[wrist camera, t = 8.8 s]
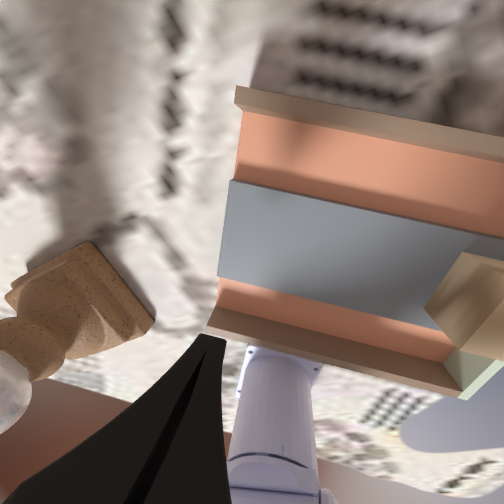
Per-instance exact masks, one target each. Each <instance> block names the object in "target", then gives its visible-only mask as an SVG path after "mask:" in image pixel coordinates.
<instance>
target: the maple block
mask: <svg viewBox="0 0 504 504" xmlns="http://www.w3.org/2000/svg"><path fill="white" fill-rule="evenodd" d="M424 310H425V311H426V312H427V313H428V314H429V316H430V317H431V318H432V319H433V320H434V321H435V323H436V324H437V325H438V326H439V327H440V329H441V330H442V331H443V332H444V333H445V334H446V336H447V337H448V338H449V339H450V340H451V342H452V343H453V344H454V345H455V346H456V347H457V349H458V350H459V351H463V352H467V353H471V354H475V355H479V356H483V357H487V358H491V359H495V360H499V361H503V362H504V261H501V260H497V259H492V258H488V257H484V256H479V255H475V254H470V253H466V252H462V253H461V254H460V256H459V257H458V259H457V260H456V262H455V263H454V264H453V266H452V267H451V269H450V270H449V272H448V273H447V275H446V276H445V278H444V279H443V280H442V282H441V283H440V285H439V286H438V288H437V289H436V291H435V292H434V293H433V295H432V296H431V298H430V299H429V301H428V302H427V304H426V305H425V307H424Z"/></svg>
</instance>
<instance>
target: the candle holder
mask: <svg viewBox="0 0 504 504" xmlns="http://www.w3.org/2000/svg"><path fill="white" fill-rule="evenodd" d="M11 287H12V288H13V289H12V290H11V291H10V292H8V293H7V294H6V295H5V297H4V298H5V300H6V301H7V303H8V304H9V305H10V306H11V307H12V308H13V309H14V310H15V311H16V312H17V317H9V318H4V319H2V320H0V434H1V433H3V432H4V431H6V430H7V429H8V428H10V427H11V426H12V425H13V424H14V423H16V421H17V420H18V419H19V418H20V417H21V416H22V415H23V413H24V412H25V410H26V409H27V407H28V405H29V402H30V399H31V394H32V387H31V382H32V381H36V380H40V379H44V378H47V377H49V376H51V375H52V374H54V373H55V372H56V371H57V370H59V369H60V367H61V366H62V364H63V363H64V359H65V358H67V359H70V360H71V359H77V358H81V357H85V356H88V355H92V354H95V353H99V352H102V351H105V350H107V349H110V348H113V347H116V346H118V345H120V344H122V343H124V342H127V341H130V340H133V339H136V338H138V337H141V336H143V335H145V334H146V333H147V331H148V330H149V329H150V328H151V326H152V325H153V324H154V323H155V322H154V320H153V318H152V317H151V315H150V314H149V313H148V311H147V310H146V309H145V307H144V306H143V305H142V304H141V302H140V301H139V300H138V298H137V297H136V296H135V295H134V293H133V292H132V291H131V290H130V288H129V287H128V286H127V285H126V283H125V282H124V281H123V279H122V278H121V277H120V276H119V274H118V273H117V272H116V271H115V269H114V268H113V267H112V266H111V264H110V263H109V262H108V260H107V259H106V258H105V257H104V255H103V254H102V253H101V252H100V251H99V250H98V249H97V247H96V246H95V245H94V244H93V243H92V242H90V241H88V242H85V243H83V244H81V245H79V246H76V247H74V248H72V249H70V250H68V251H66V252H64V253H62V254H60V255H58V256H56V257H55V258H53V259H51V260H49V261H47V262H46V263H44V264H42V265H40V266H39V267H37V268H35V269H33V270H32V271H30V272H28V273H26V274H24V275H23V276H21V277H19V278H18V279H16V280H15V281H14V282H12V283H11Z"/></svg>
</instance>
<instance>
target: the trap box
mask: <svg viewBox="0 0 504 504" xmlns="http://www.w3.org/2000/svg"><path fill="white" fill-rule="evenodd" d="M234 104H236V105H237V106H238V107H239V108H240V109H242V110H243V116H242V123H241V130H240V137H239V144H238V151H237V158H236V165H235V172H234V178H233V179H231V180H230V182H229V190H228V197H227V205H226V212H225V219H224V227H223V234H222V242H221V249H220V256H219V264H218V271H217V276H218V277H220V278H219V285H218V292H217V299H216V306H215V308H214V310H213V312H212V315H211V317H210V319H209V321H208V323H207V325H206V332H207V333H211V334H215V335H218V336H222V337H226V338H230V339H234V340H238V341H241V342H245V343H249V344H253V345H257V346H261V347H264V348H268V349H272V350H276V351H280V352H284V353H287V354H291V355H295V356H299V357H303V358H307V359H310V360H314V361H318V362H322V363H326V364H330V365H333V366H337V367H341V368H345V369H349V370H353V371H356V372H360V373H364V374H368V375H372V376H376V377H379V378H383V379H387V380H391V381H395V382H399V383H402V384H406V385H410V386H414V387H418V388H422V389H425V390H429V391H433V392H437V393H441V394H445V395H448V396H452V397H456V398H460V399H464V400H468V399H469V398H470V397H471V396H472V395H473V394H474V393H475V392H476V391H477V390H478V389H479V388H480V387H481V386H483V385H484V384H485V382H487V381H488V380H489V379H490V378H491V377H492V376H493V375H494V374H495V373H496V372H497V371H498V370H499V369H501V368H502V367H503V366H504V362H503V361H499V360H495V359H491V358H487V357H483V356H479V355H475V354H471V353H467V352H463V351H459V350H458V349H457V347H456V346H455V345H454V344H453V343H452V342H451V340H450V339H449V338H448V337H447V336H446V334H445V333H444V332H443V331H442V330H441V329H440V327H439V326H438V325H437V324H436V323H435V321H434V320H433V319H432V318H431V317H430V316H429V314H428V313H427V312H426V311H425V310H424V307H425V305H426V304H427V302H428V301H429V299H430V298H431V296H432V295H433V293H434V292H435V291H436V289H437V288H438V286H439V285H440V283H441V282H442V280H443V279H444V278H445V276H446V275H447V273H448V272H449V270H450V269H451V267H452V266H453V264H454V263H455V262H456V260H457V259H458V257H459V256H460V254H461V253H462V252H466V253H470V254H475V255H479V256H484V257H488V258H492V259H497V260H501V261H504V137H499V136H494V135H489V134H484V133H479V132H474V131H468V130H463V129H458V128H453V127H448V126H443V125H438V124H432V123H427V122H422V121H417V120H412V119H407V118H402V117H396V116H391V115H386V114H381V113H376V112H371V111H365V110H360V109H355V108H350V107H345V106H340V105H335V104H329V103H324V102H319V101H314V100H309V99H304V98H299V97H293V96H288V95H283V94H278V93H273V92H268V91H263V90H257V89H252V88H247V87H242V86H237V85H236V91H235V99H234Z"/></svg>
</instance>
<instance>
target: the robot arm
mask: <svg viewBox="0 0 504 504" xmlns="http://www.w3.org/2000/svg"><path fill="white" fill-rule="evenodd" d="M226 343H227V341H226V340H225V339H221V338H217V337H214V336H210V335H206V334H202V333H201V334H199V335H198V337H197V338H196V339H195V341H194V342H193V343H192V344H191V346H190V347H189V348H188V349H187V350H186V352H185V353H184V354H183V355H182V356H181V357H180V358H179V359H178V360H177V362H176V363H175V364H174V365H173V366H172V367H171V368H170V369H169V370H168V371H167V372H166V373H165V374H164V375H163V376H162V377H161V378H160V379H159V380H158V381H157V382H156V383H155V384H154V385H153V386H152V387H151V388H149V389H148V390H147V391H146V392H145V393H144V394H143V395H142V396H141V397H139V398H138V399H137V400H136V401H135V402H134V403H132V404H131V405H130V406H129V407H128V408H127V409H125V410H124V411H123V412H121V413H120V414H119V415H118V416H117V417H115V418H114V419H113V420H112V421H110V422H109V423H108V424H106V425H105V426H104V427H102V428H101V429H100V430H98V431H97V432H96V433H94V434H93V435H91V436H90V437H89V438H87V439H86V440H85V441H83V442H82V443H80V444H79V445H78V446H76V447H75V448H73V449H72V450H71V451H69V452H68V453H66V454H65V455H63V456H62V457H60V458H59V459H57V460H56V461H54V462H53V463H51V464H50V465H48V466H47V467H45V468H43V469H42V470H40V471H39V472H37V473H36V474H34V475H33V476H31V477H30V478H28V479H27V480H25V481H24V482H22V483H21V484H20V485H19V486H18V487H17V488H16V489H15V490H14V491H13V492H12V493H11V495H10V496H9V497H8V498H7V499H6V500H5V501H4V502H3V503H2V504H339V502H338V501H337V500H336V499H335V497H334V496H332V493H331V491H330V490H329V489H323V488H322V490H321V487H320V483H319V478H318V467H317V456H316V445H315V434H314V422H313V411H312V400H311V388H312V386H313V384H314V382H315V380H316V378H317V376H318V374H319V372H320V370H321V368H322V362H318V361H314V360H310V359H307V358H303V357H299V356H295V355H291V354H287V353H284V352H280V351H276V350H272V349H268V348H264V347H261V346H257V345H253V344H248V345H247V349H246V353H245V357H244V361H243V365H242V369H241V373H240V377H239V381H238V385H237V389H236V393H235V397H236V398H238V399H239V403H238V408H237V413H236V418H235V423H234V428H233V433H232V439H231V444H230V449H229V453H228V459H227V462H226V456H225V448H224V437H223V424H222V402H221V382H222V364H223V359H224V354H225V348H226ZM250 350H251V351H250Z"/></svg>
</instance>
